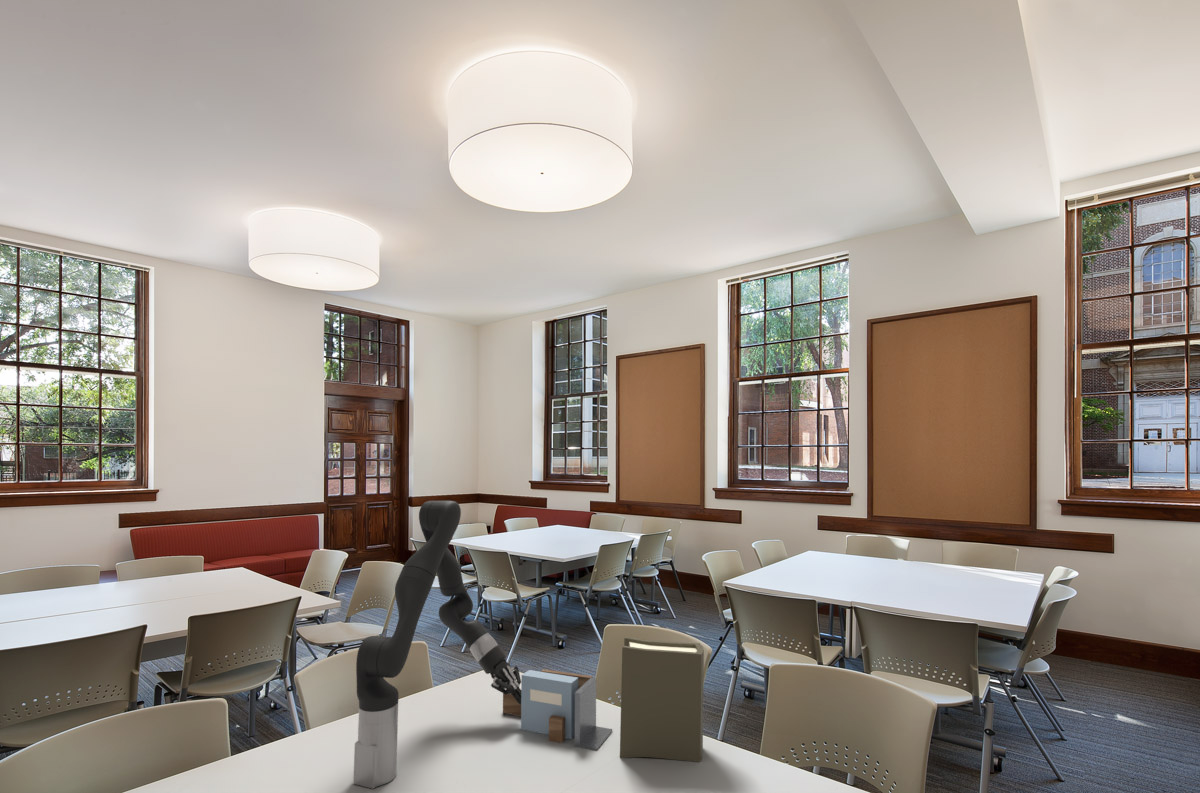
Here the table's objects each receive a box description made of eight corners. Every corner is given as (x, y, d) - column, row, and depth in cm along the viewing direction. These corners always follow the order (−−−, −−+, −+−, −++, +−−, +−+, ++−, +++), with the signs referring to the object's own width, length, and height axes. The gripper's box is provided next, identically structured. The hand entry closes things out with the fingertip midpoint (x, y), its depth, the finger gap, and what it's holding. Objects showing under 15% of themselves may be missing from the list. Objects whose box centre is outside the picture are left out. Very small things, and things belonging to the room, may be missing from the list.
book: (701, 747, 165) (702, 641, 168) (703, 764, 156) (704, 652, 158) (622, 740, 168) (624, 636, 170) (619, 757, 158) (622, 647, 161)
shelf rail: (575, 745, 165) (575, 691, 166) (483, 728, 175) (484, 677, 177) (592, 726, 176) (592, 676, 178) (505, 710, 187) (505, 663, 188)
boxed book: (571, 739, 168) (571, 683, 170) (520, 729, 175) (521, 675, 176) (578, 732, 173) (578, 677, 174) (528, 722, 179) (529, 669, 180)
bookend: (596, 750, 162) (596, 696, 163) (574, 746, 164) (574, 692, 166) (612, 731, 173) (612, 680, 174) (591, 727, 176) (591, 677, 177)
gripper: (483, 651, 176) (520, 702, 171) (506, 638, 188) (541, 685, 183) (467, 668, 178) (503, 718, 172) (491, 654, 190) (525, 700, 184)
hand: (523, 701), depth 178 cm, fingers closed
